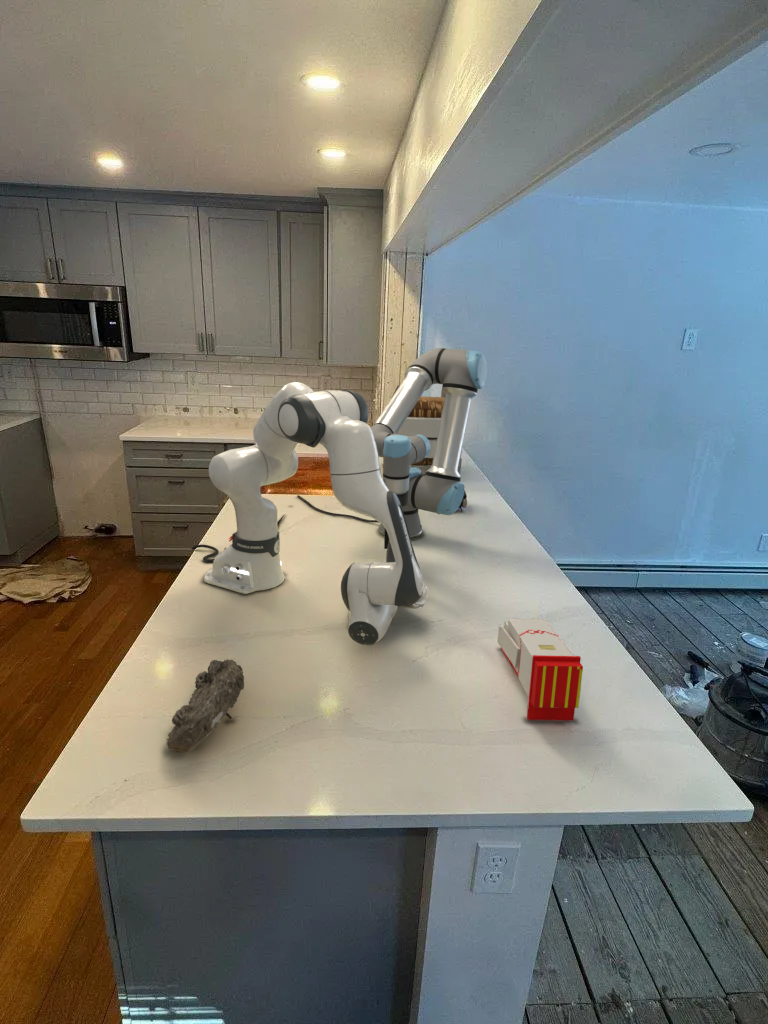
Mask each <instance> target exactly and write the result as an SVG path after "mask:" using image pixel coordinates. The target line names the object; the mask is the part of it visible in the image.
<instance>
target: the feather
mask: <svg viewBox="0 0 768 1024" xmlns="http://www.w3.org/2000/svg"><path fill="white" fill-rule="evenodd" d="M285 515H286V514H283V515H282V516H281V518H279V519H278V520H277V522H278V527H279V526H280V524H281V522H282V520H283V519H284V516H285Z"/></svg>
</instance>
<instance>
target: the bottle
mask: <svg viewBox="0 0 768 1024" xmlns="http://www.w3.org/2000/svg"><path fill="white" fill-rule="evenodd" d="M385 562H395V558H394V554H393V551H392V547H391V543H390V540H389V543H388V547H387V549H386V553H385Z"/></svg>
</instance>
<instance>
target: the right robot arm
mask: <svg viewBox="0 0 768 1024" xmlns="http://www.w3.org/2000/svg"><path fill="white" fill-rule="evenodd" d="M487 365H488V364H487V360H486V357H485V355H484V354H483V353H482V352H481V351H478V350H471V349H457V348H445V347H435V348H432V349H429V350H428V351H426V352H424V353H423V354H421V355H420V356H418V357H417V358H416V359H414V360H413V362H412V363H410V365H409V366H408V368H407V369H406V370H405V373H404V379H403V380H402V382H401V383H400V386H399V388H398V389H397V391H396V392H395V391H394V392H395V394H394V393H393V394H394V395H393V394H392V396H393V397H392V396H391V398H390V400H389V402H388V403H387V404H386V405H385V407H384V409H383V410H382V411H381V413H380V414H379V416H378V418H377V420H376V421H374V424H373V425H372V426H371V427H370V428H371V429H372V432H373V435H374V439H375V442H376V446H377V451H378V457H379V458H382V479H383V481H384V483H385V485H386V486H387V488H388V489H389V490H390V491H392V492H394V493H395V494H396V495H397V497H398V499H399V501H400V504H401V507H402V510H403V513H404V516H405V520H406V524H407V527H408V531H409V535H410V538H411V540H415V539H418V538H420V537H421V536H422V535H423V525H422V524H421V518H420V515H419V510H421V511H426V512H429V513H435V514H437V515H445V516H451V515H453V514H455V513H456V512H457V510H458V508H459V506H460V504H461V502H462V499H463V496H464V490H465V489H466V487H465V485H464V483H463V482H462V481H461V479H462V477H461V474H460V475H459V473H458V471H457V470H458V465H459V459H460V454H461V455H462V453H461V449H462V450H463V445H464V438H465V434H466V429H467V423H468V419H469V418H468V417H469V413H470V407H471V402H472V399H474V397H476V396H477V395H478V390H481V389H483V388H484V387H485V386H486V384H487V383H486V382H487V378H488V366H487ZM433 385H442V386H441V391H442V390H443V391H444V393H445V400H444V405H443V410H442V416H441V421H440V426H439V432H438V437H437V442H436V447H435V453H434V458H433V463H432V465H430V466H429V468H428V469H427V470H426V471H425V475H424V474H422V470H421V468H419V467H414V466H410V465H412V464H414V463H417V462H419V461H422V460H423V459H424V458H425V457H427V456H428V455H429V453H430V450H431V446H430V442H429V440H428V439H427V438H426V437H425V436H423V435H413V436H404V435H398V434H397V432H398V431H399V429H400V428H401V426H402V425H403V423H404V421H405V420H406V418H407V417H408V415H409V414H410V412H411V411H412V409H413V408H414V406H415V404H416V403H417V401H418V400H419V398H420V397H422V395H423V394H424V392H425V391H428V390H429V389H430V388H431V387H432V386H433ZM296 497H297V498H298V499H300V500H302V501H303V502H304V503H306V504H307V505H308V506H309V507H310V508H312V509H314V510H316V511H317V512H320V513H323V514H327V515H330V516H337V517H346V518H351V519H356V520H359V521H362V522H366V523H377V524H378V523H379V525H378V533H379V534H380V535H381V536H382V537H384V539H383V540H384V541H383V542H384V543H383V549H384V550H387V547H388V543H389V536H388V533H387V530H386V528H385V527H384V526H383V525H382V524H381V523H380V522H378V521H377V520H375V519H367V518H362V517H359V516H356V515H355V516H354V515H351V514H345V513H336V512H330V511H326V510H323V509H320V508H318V507H316V506H314V505H313V504H311V502H309V501H308V500H307V499H305V498H303V497H302V496H301V495H299V494H297V495H296ZM459 509H460V508H459Z"/></svg>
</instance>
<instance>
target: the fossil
mask: <svg viewBox="0 0 768 1024" xmlns="http://www.w3.org/2000/svg"><path fill="white" fill-rule="evenodd" d="M243 670H244V669H243V667H242V665H240V664H237V662H236V661H235V660H234V659H232V658H231V659H227V658H226V659H224V660H223V661H222V660H217V659H212V660H211V661H210V663H209V665H208V666H207V671H201V672H199V673H198V674H197V675H196V676H195V680H194V684H195V685H194V687H195V689H194V690H193V693H192V694H191V697H190V698H189V700H188V704H184V705H182V706H181V707H180V709H177V710H176V711H175V713H174V715H173V716H172V718H171V723H172V724H173V727H172V730H171V731H170V732H168V734H167V738H166V741H167V742H166V745H167V749H168V750H169V751H173V752H174V753H176V754H178V753H182V752H188V751H189V752H192V751H193V750H195V748H196V747H197V746H199V744H200V743H201V742H203V741H204V740H205V739H206V738H207V737H208V736H209V735H210V734H211V733H212V732H214V730H215V729H217V727H218V726H219V724H220V722H221V721H222V720H223V719H224V718H225V716H226V717H227V719H229V720H233V717H232V715H230V714H229V710H230V709H231V708H234V706H235V704H236V703H237V702H238V699H239V697H240V695H241V693H242V691H243V690H245V689H244V688H245V675H244V671H243Z"/></svg>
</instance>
